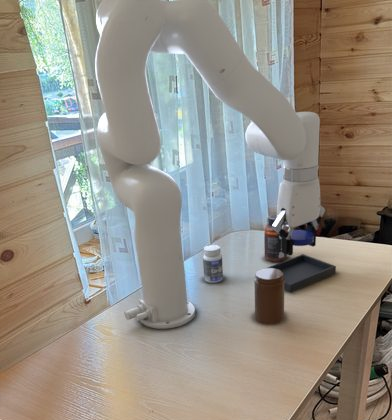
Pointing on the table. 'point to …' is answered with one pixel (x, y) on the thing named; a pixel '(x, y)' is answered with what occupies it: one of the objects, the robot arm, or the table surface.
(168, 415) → the table surface
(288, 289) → the tray
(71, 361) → the table surface
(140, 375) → the table surface
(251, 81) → the robot arm
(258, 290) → the jar
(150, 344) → the table surface
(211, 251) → the pill bottle
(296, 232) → the jar lid
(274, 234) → the supplement bottle
